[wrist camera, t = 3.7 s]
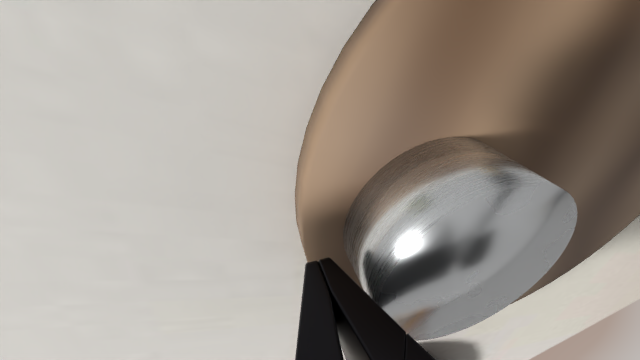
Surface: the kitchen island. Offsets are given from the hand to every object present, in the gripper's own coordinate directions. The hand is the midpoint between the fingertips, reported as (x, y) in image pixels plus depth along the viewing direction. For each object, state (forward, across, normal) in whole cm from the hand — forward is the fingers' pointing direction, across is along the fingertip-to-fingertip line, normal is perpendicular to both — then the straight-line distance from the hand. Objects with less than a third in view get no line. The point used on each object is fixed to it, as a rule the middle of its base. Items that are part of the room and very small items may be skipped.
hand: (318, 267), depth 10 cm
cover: (+1, -5, 0) cm, 5 cm away
